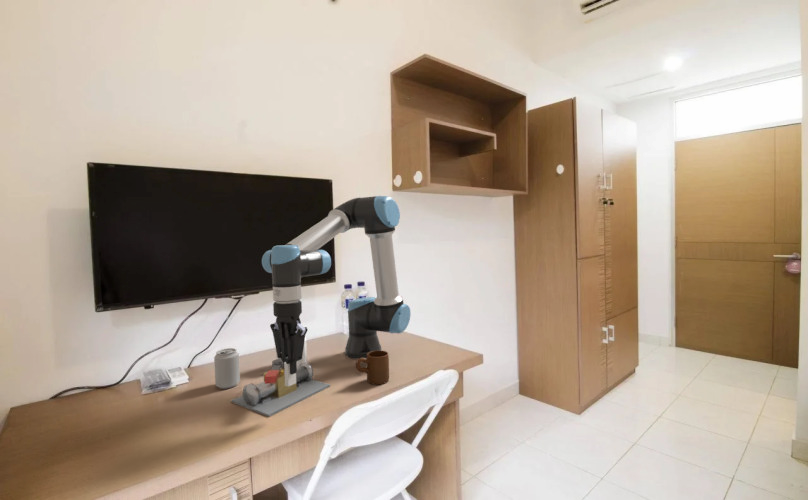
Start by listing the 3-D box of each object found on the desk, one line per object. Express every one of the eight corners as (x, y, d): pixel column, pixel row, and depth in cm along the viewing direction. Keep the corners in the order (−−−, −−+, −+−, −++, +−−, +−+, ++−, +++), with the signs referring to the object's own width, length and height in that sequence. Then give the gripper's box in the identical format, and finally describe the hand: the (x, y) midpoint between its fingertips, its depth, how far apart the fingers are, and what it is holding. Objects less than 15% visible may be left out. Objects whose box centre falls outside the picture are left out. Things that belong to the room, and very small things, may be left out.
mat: (293, 375, 137) (293, 374, 137) (330, 386, 127) (330, 384, 127) (231, 402, 117) (231, 400, 117) (269, 416, 107) (268, 414, 107)
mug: (361, 390, 123) (360, 361, 123) (351, 382, 130) (350, 355, 129) (393, 381, 129) (392, 354, 129) (382, 374, 136) (382, 348, 135)
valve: (300, 379, 133) (299, 356, 133) (314, 383, 130) (313, 359, 129) (242, 404, 115) (241, 377, 114) (257, 410, 111) (255, 382, 110)
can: (212, 385, 129) (210, 351, 129) (234, 379, 135) (232, 345, 134) (221, 391, 124) (219, 355, 124) (243, 384, 130) (242, 350, 129)
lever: (274, 365, 124) (273, 359, 124) (288, 364, 124) (287, 358, 124) (262, 383, 109) (261, 377, 108) (278, 382, 109) (277, 376, 109)
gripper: (260, 301, 106) (264, 384, 107) (292, 305, 99) (295, 394, 100) (282, 296, 112) (285, 375, 114) (314, 300, 105) (317, 384, 106)
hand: (290, 384), depth 107 cm, fingers closed
